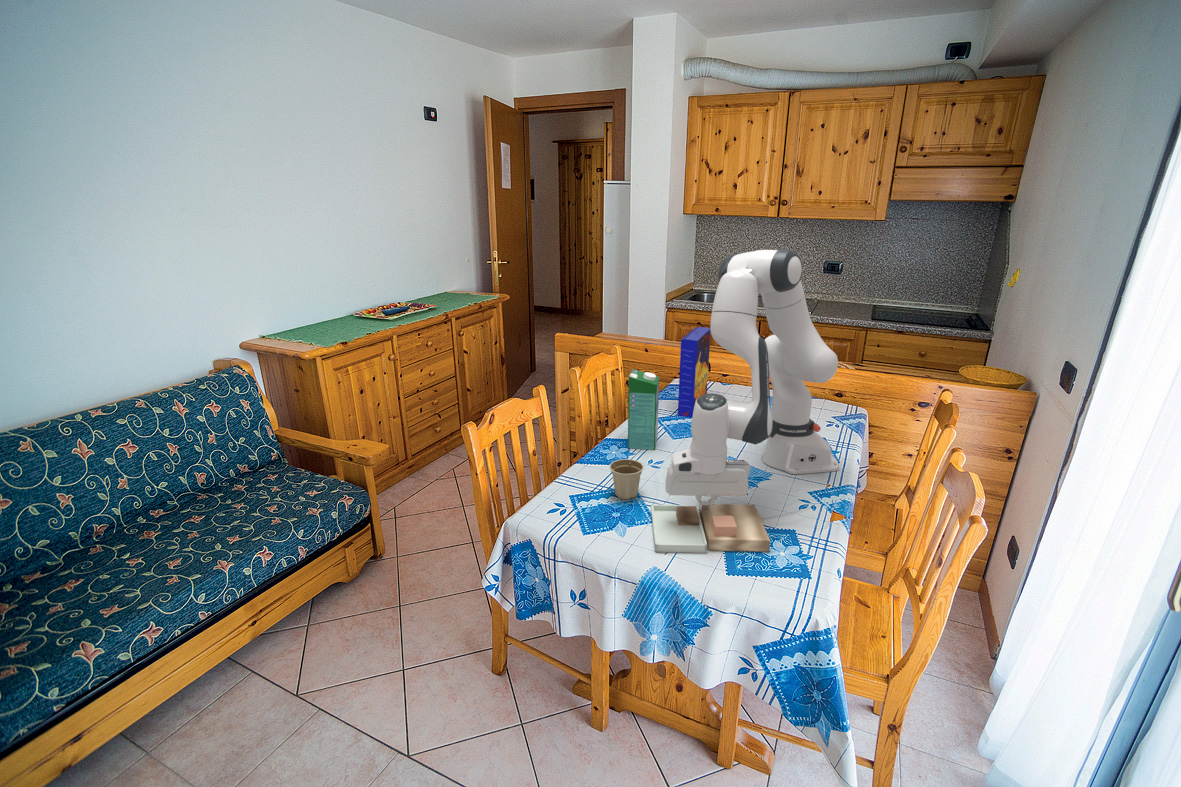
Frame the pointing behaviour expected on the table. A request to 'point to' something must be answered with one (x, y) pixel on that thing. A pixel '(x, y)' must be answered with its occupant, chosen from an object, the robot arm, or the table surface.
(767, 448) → the robot arm
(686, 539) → the tray
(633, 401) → the milk carton
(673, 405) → the table surface
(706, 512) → the board
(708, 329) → the cereal box
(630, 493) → the flower pot
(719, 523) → the terracotta tile
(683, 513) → the walnut tile
